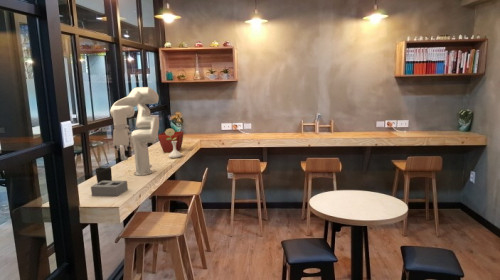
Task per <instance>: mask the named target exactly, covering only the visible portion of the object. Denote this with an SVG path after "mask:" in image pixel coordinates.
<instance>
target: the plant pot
mask: <svg viewBox="0 0 500 280" xmlns="http://www.w3.org/2000/svg"><path fill="white" fill-rule="evenodd" d="M176 137H177V138H176ZM167 138H170V136H169V135H168V136H167V135H166V134H165V131H164V132H161V133H158V136H157V139H158V140H159V145H160V147H161V150H162V152H163V153H171V152H172V151H173V144H172V142H171V141H177V142H176V150H177V151H179V152H180V151H181V149H182V145H183V142H184V141H183V138H184V131H175V133H174V135H171V139H170V140H166V139H167ZM174 138H176V139H175V140H173V139H174Z"/></svg>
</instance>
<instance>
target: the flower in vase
mask: <svg viewBox="0 0 500 280" xmlns="http://www.w3.org/2000/svg"><path fill="white" fill-rule="evenodd" d="M164 132H165V134H166V135H167V136H168V135H169V136H170V138H167V139H166V140H170V139H171V135H174V133H175V132H176V131H175V129H174V128H166V129H165V131H164ZM176 138H177V137H176ZM176 138H174V139H173V140H175V139H176ZM171 142H172V144H173V151H172V152H169V154H168V157H169V158H170V159H171V158H172V159H176V158H181V157H182V156H183V154H182V153H181V152H180V150H179V151H177V150H176V142H177V141H171Z"/></svg>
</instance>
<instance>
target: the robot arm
mask: <svg viewBox="0 0 500 280" xmlns="http://www.w3.org/2000/svg"><path fill="white" fill-rule="evenodd" d="M159 97H160V96H159V94H158V93H157V91H155V90H154V89H153V88H151V87H148V86H141V87H140V86H137V87H133V88H132V90H131V91H130V92H129V93H128V95H127V96H125V97H123V98H121V99H118V100H117V101H115V102H114V103H113V104H112V106H111V107H110V109H109V111H110V112H109V113H110V115H111V117H112V118H113V119H112V120H113V121H112V122H113V128H114V129H113V132H112V144H111V146H112V147H113V148H114V149H115V150H116V151H117V155H118V157H119V158H121V157H120V148H119V146H120V145H122V146H125V149H126V151H125V156H126V157H127V158H128V157H129V156H130V149H131V148H132V147H133V153H134V163H135V171H134V172H133V175H134V176H139V177H140V176H148V175H151V174H152V173H153V169H151V168H152V164H151V163H150V154H149V148H148V146H147V144H149V143H150V144H151V143H156V142H157V140H158V135H159V128H160V120H159V118H158V116H156V115H151V110H150V108H149V107H148V106H147V105H155V104H157V103H158V102H159V99H160V98H159ZM135 107H136V108H137V116H136V121H135V127H136V128H137V129H134V130H133V131H132V132H130V129H129V128H130V125H129V124H128V122H127V118H132V117H134V115H135V112H136V111H135ZM146 143H147V144H146Z"/></svg>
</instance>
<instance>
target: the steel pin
mask: <svg viewBox="0 0 500 280" xmlns="http://www.w3.org/2000/svg"><path fill="white" fill-rule="evenodd" d="M119 148H120V157H119V158H120V161H123V162H124V161H128V157H126V156H125V151H126V149H125V146H122V145H120V146H119Z"/></svg>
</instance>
